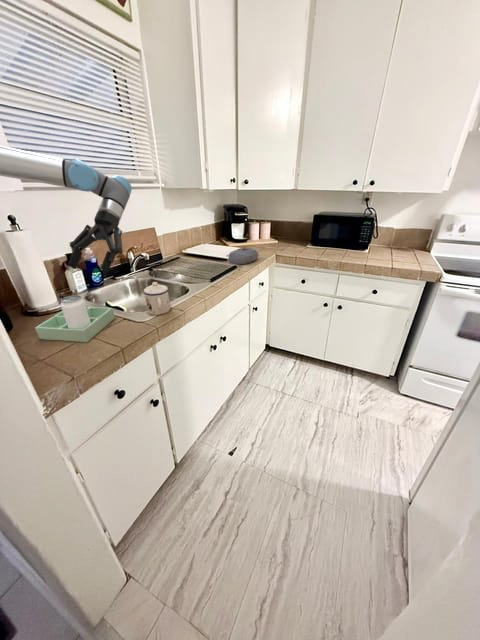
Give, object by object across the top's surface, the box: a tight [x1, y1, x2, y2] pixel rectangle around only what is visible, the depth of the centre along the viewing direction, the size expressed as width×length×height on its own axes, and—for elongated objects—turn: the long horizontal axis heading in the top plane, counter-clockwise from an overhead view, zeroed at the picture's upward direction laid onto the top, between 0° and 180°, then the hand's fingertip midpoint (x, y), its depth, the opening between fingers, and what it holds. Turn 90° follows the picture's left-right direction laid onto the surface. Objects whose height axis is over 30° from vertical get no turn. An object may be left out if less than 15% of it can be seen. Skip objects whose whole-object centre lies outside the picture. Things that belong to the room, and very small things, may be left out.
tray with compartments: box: [34, 306, 116, 343], centre depth 90 cm, size 17×17×4 cm
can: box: [60, 294, 91, 330], centre depth 84 cm, size 6×6×12 cm
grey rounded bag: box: [228, 247, 259, 266], centre depth 166 cm, size 15×8×20 cm
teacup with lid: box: [143, 281, 171, 316], centre depth 100 cm, size 12×9×12 cm
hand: (87, 268), depth 88 cm, fingers open, 13 cm apart
